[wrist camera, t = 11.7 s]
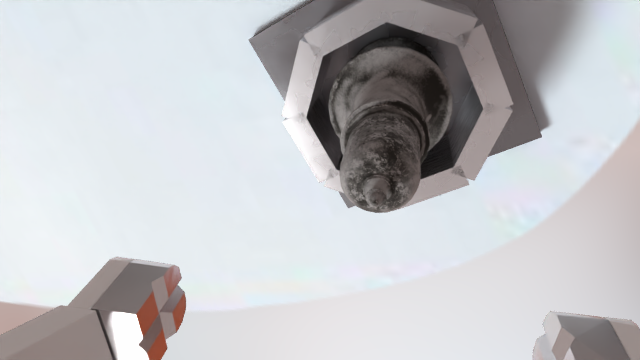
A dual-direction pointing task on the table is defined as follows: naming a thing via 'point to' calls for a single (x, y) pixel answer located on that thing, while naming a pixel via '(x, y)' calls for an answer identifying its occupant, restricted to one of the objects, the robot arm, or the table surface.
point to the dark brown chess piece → (388, 120)
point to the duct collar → (448, 50)
